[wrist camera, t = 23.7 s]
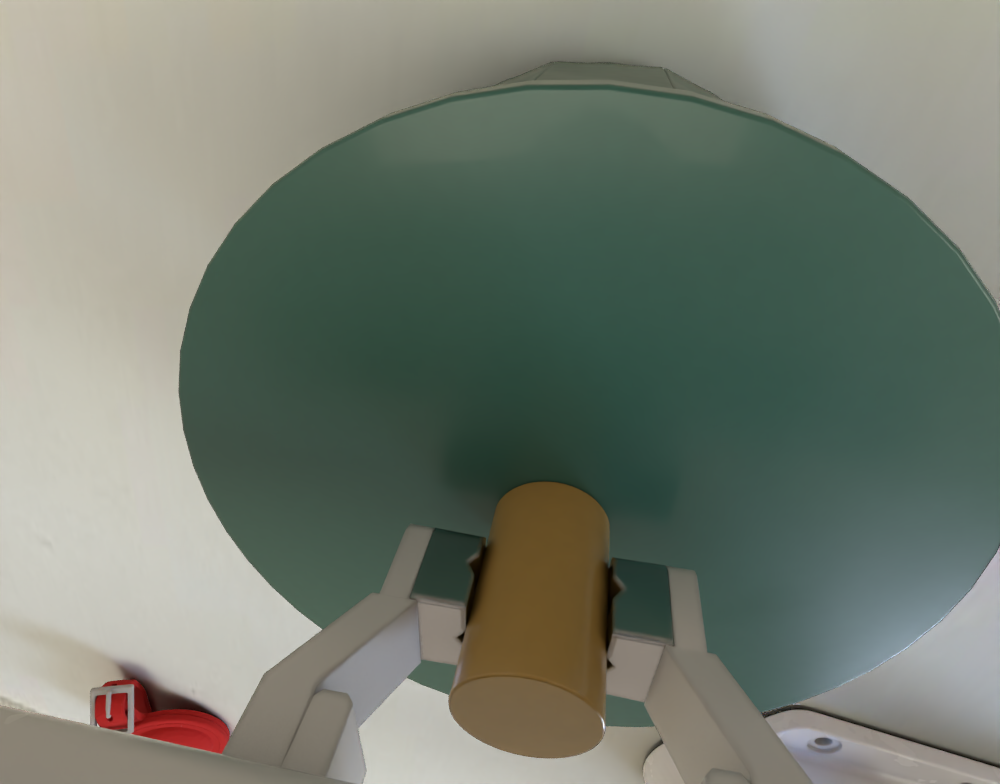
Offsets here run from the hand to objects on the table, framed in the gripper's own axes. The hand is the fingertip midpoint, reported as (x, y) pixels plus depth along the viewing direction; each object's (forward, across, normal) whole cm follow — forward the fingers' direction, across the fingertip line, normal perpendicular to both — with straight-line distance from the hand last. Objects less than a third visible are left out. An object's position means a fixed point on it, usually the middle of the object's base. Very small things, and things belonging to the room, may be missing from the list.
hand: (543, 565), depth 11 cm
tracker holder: (+12, +29, +40) cm, 51 cm away
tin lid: (+2, 0, 0) cm, 2 cm away
